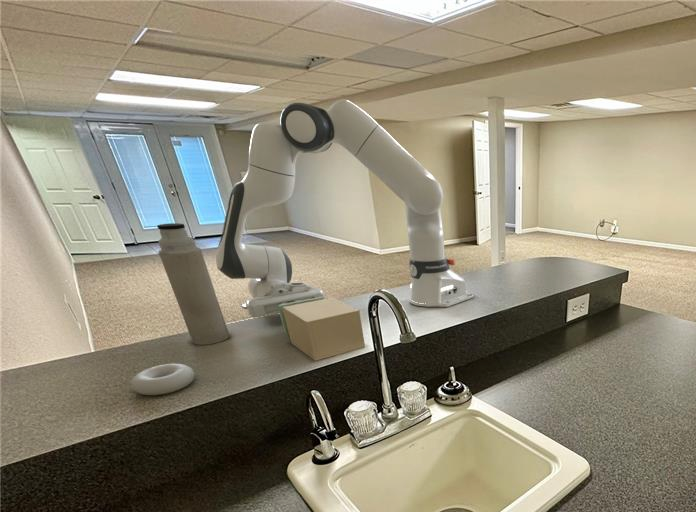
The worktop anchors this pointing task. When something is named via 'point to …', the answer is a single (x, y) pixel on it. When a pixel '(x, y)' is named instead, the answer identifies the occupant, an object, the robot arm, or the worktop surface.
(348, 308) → the tan cardboard box
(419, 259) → the robot arm
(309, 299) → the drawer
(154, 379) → the donut
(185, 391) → the worktop surface
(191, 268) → the thermos bottle
